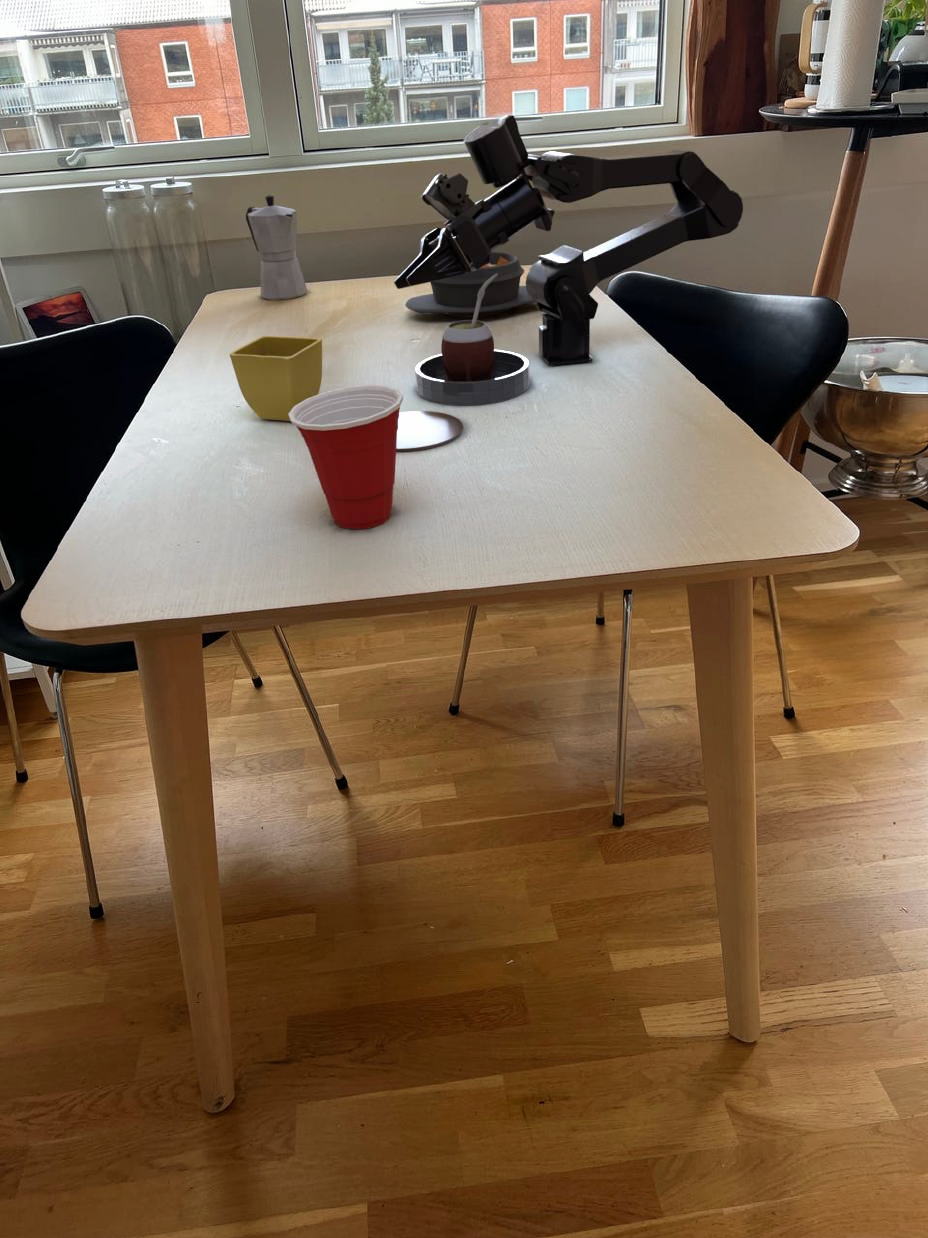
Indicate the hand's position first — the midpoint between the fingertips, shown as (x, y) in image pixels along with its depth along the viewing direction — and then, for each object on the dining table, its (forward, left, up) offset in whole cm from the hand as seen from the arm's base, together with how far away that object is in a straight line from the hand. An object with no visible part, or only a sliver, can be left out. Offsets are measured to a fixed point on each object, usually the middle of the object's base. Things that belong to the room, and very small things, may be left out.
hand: (401, 283), depth 122 cm
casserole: (-15, -40, -14) cm, 44 cm away
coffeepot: (+20, -68, -14) cm, 72 cm away
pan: (-8, +3, -13) cm, 16 cm away
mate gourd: (-8, +3, -13) cm, 16 cm away
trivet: (+2, +18, -13) cm, 23 cm away
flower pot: (+17, +7, -14) cm, 23 cm away
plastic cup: (+9, +41, -14) cm, 45 cm away
